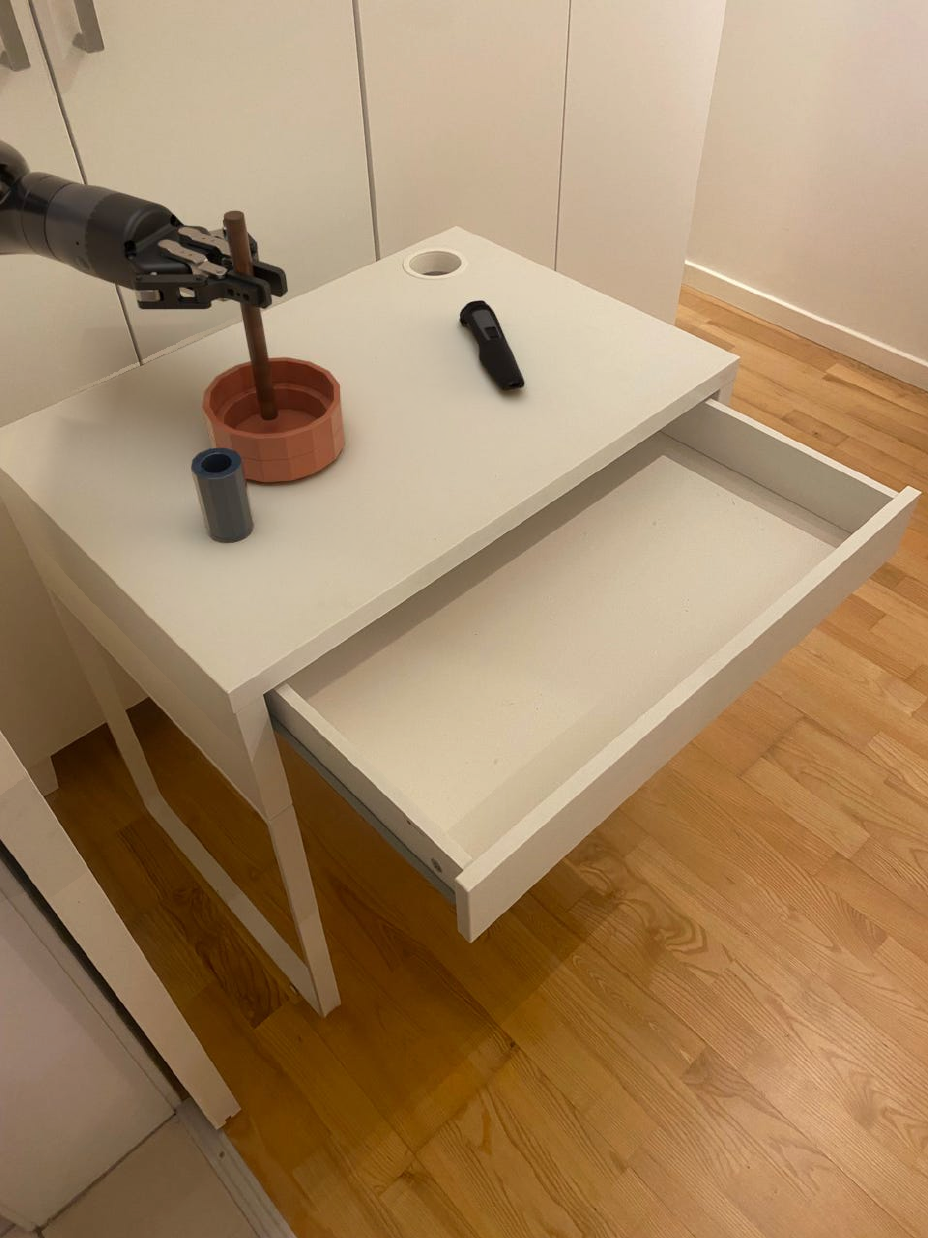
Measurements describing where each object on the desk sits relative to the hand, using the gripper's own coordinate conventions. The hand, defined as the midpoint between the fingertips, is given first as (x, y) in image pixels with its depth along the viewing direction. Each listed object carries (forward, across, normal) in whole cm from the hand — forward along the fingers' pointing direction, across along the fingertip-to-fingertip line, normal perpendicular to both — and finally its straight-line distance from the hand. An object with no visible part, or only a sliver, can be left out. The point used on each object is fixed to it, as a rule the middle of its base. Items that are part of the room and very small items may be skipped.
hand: (276, 289), depth 78 cm
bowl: (-1, -1, +16) cm, 16 cm away
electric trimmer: (+9, +23, +16) cm, 29 cm away
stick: (-3, 0, +14) cm, 14 cm away
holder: (+2, -12, +16) cm, 20 cm away
